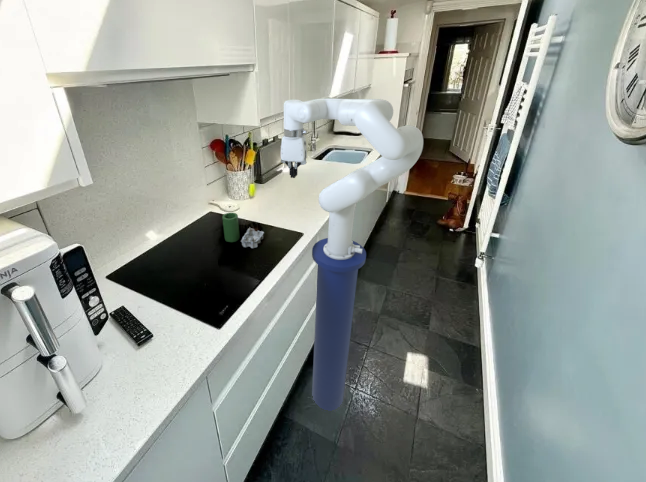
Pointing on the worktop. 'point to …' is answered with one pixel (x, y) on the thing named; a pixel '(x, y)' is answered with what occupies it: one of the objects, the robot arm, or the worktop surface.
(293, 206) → the worktop surface
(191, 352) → the worktop surface
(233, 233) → the green hollow cylinder
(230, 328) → the worktop surface
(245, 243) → the egg carton
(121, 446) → the worktop surface
